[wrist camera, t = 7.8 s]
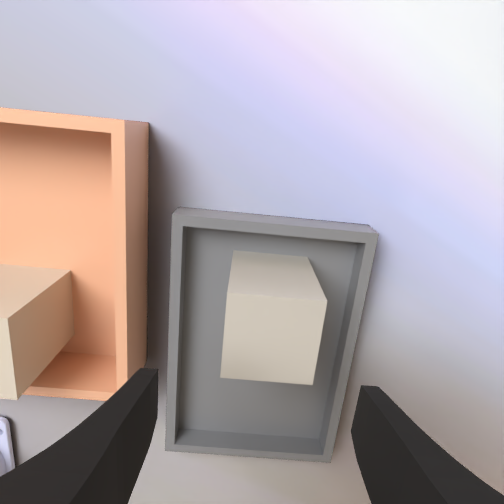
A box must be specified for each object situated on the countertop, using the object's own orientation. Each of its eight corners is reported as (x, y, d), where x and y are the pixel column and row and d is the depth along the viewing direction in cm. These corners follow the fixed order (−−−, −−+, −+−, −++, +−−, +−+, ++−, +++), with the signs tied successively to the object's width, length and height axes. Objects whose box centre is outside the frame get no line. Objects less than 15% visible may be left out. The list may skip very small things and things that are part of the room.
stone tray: (324, 439, 27) (330, 462, 25) (171, 427, 26) (165, 450, 24) (367, 224, 22) (378, 233, 20) (178, 206, 21) (171, 214, 19)
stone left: (74, 334, 23) (17, 399, 18) (4, 328, 23) (-77, 392, 17) (70, 270, 22) (7, 318, 16) (-4, 263, 22) (-95, 309, 16)
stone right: (297, 322, 23) (312, 385, 17) (227, 316, 23) (220, 377, 17) (307, 256, 22) (327, 301, 16) (233, 250, 22) (227, 292, 16)
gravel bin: (146, 360, 25) (127, 402, 21) (-54, 344, 24) (-111, 384, 20) (148, 122, 20) (124, 120, 16) (-100, 97, 20) (-186, 88, 16)
